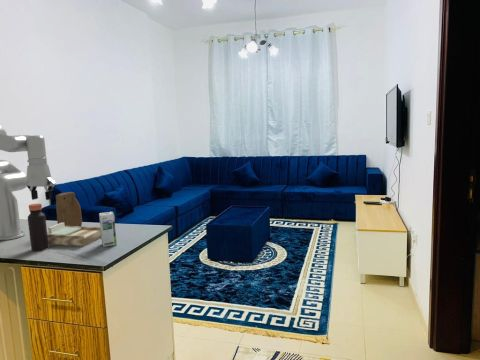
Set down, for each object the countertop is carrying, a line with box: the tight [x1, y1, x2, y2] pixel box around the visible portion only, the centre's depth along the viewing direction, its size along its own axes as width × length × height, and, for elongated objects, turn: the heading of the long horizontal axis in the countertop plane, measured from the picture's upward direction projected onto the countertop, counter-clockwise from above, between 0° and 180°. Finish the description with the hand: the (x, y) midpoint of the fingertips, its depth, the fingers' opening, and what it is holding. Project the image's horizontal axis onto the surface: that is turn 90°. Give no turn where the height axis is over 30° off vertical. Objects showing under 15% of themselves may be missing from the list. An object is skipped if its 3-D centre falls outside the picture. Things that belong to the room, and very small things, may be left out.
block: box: [55, 191, 83, 226], centre depth 191 cm, size 11×8×20 cm
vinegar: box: [27, 203, 50, 252], centre depth 163 cm, size 7×7×20 cm
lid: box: [47, 223, 81, 235], centre depth 175 cm, size 11×12×3 cm
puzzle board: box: [47, 225, 101, 247], centre depth 175 cm, size 22×15×5 cm
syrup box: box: [98, 211, 118, 248], centre depth 166 cm, size 6×6×14 cm
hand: (41, 199), depth 176 cm, fingers open, 7 cm apart
